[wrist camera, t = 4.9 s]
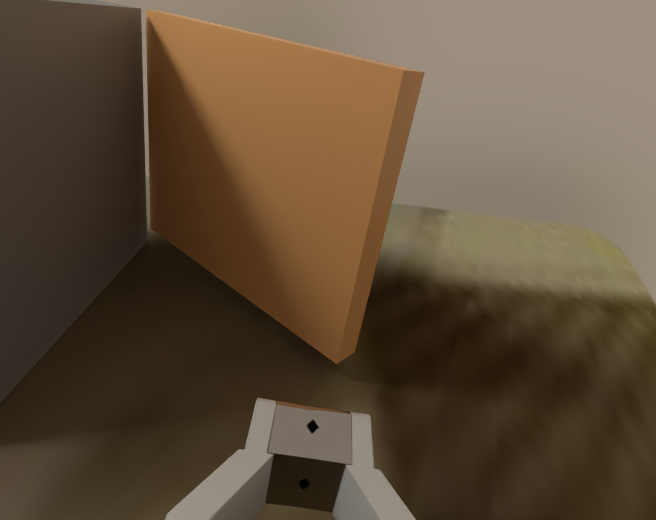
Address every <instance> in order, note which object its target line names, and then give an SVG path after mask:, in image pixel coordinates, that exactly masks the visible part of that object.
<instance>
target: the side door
mask: <svg viewBox="0 0 656 520" xmlns="http://www.w3.org/2000/svg"><path fill="white" fill-rule="evenodd" d="M146 34H147V35H146V37H147V83H148V126H149V127H148V128H149V172H150V218H151V229H152V230H154V231H155V232H156V233H158V234H159V235H160V236H162V237H163V238H165V239H166V240H167V241H169V242H170V243H171V244H173V245H174V246H175V247H177V248H178V249H180V250H181V251H182V252H184V253H185V254H186V255H188V256H189V257H191V258H192V259H193V260H195V261H196V262H197V263H199V264H200V265H202V266H203V267H204V268H206V269H207V270H208V271H210V272H211V273H212V274H214V275H215V276H217V277H218V278H219V279H221V280H222V281H223V282H225V283H226V284H228V285H229V286H230V287H232V288H233V289H234V290H236V291H237V292H238V293H240V294H241V295H243V296H244V297H245V298H247V299H248V300H249V301H251V302H252V303H254V304H255V305H256V306H258V307H259V308H260V309H262V310H263V311H265V312H266V313H267V314H269V315H270V316H271V317H273V318H274V319H275V320H277V321H278V322H280V323H281V324H282V325H284V326H285V327H286V328H288V329H289V330H291V331H292V332H293V333H295V334H296V335H297V336H299V337H300V338H301V339H303V340H304V341H306V342H307V343H308V344H310V345H311V346H312V347H314V348H315V349H317V350H318V351H319V352H321V353H322V354H323V355H325V356H326V357H327V358H329V359H330V360H332V361H333V362H334V363H336V364H337V363H339V362H341V361H342V360H344V359H345V358H347V357H348V356H350V355H351V354H353V353H354V352H355V349H356V345H357V341H358V337H359V333H360V329H361V325H362V321H363V317H364V313H365V309H366V305H367V301H368V297H369V293H370V289H371V285H372V281H373V277H374V273H375V269H376V264H377V260H378V256H379V252H380V248H381V244H382V240H383V236H384V232H385V228H386V224H387V220H388V216H389V212H390V208H391V204H392V200H393V196H394V192H395V188H396V184H397V180H398V176H399V172H400V168H401V164H402V160H403V156H404V152H405V148H406V144H407V140H408V136H409V132H410V128H411V124H412V120H413V116H414V112H415V108H416V104H417V100H418V96H419V92H420V88H421V84H422V80H423V76H424V72H421V71H417V70H413V69H409V68H404V67H400V66H396V65H391V64H387V63H383V62H379V61H374V60H370V59H366V58H361V57H357V56H352V55H348V54H344V53H340V52H335V51H331V50H327V49H323V48H318V47H314V46H310V45H305V44H301V43H296V42H292V41H288V40H284V39H279V38H275V37H271V36H267V35H262V34H258V33H254V32H249V31H245V30H241V29H236V28H232V27H227V26H224V25H219V24H215V23H211V22H206V21H202V20H198V19H193V18H189V17H184V16H180V15H176V14H172V13H167V12H160V11H153V10H147V9H146Z"/></svg>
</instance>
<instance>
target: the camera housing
mask: <svg viewBox="0 0 656 520" xmlns="http://www.w3.org/2000/svg"><path fill="white" fill-rule="evenodd" d="M142 71H143V69H142V31H141V9H140V8H135V7H130V6H125V5H119V4H114V3H109V2H103V1H98V0H0V403H1V402H2V401H3V400H4V399H5V398H6V397H7V396H8V395H9V393H10V392H11V391H12V390H13V389H14V388H15V387H16V386H17V385H18V383H19V382H20V381H21V380H22V379H23V378H24V377H25V376H26V375H27V374H28V372H29V371H30V370H31V369H32V368H33V367H34V366H35V365H36V364H37V363H38V361H39V360H40V359H41V358H42V357H43V356H44V355H45V354H46V353H47V352H48V350H49V349H50V348H51V347H52V346H53V345H54V344H55V343H56V342H57V340H58V339H59V338H60V337H61V336H62V335H63V334H64V333H65V332H66V331H67V329H68V328H69V327H70V326H71V325H72V324H73V323H74V322H75V321H76V320H77V318H78V317H79V316H80V315H81V314H82V313H83V312H84V311H85V310H86V309H87V307H88V306H89V305H90V304H91V303H92V302H93V301H94V300H95V299H96V297H97V296H98V295H99V294H100V293H101V292H102V291H103V290H104V289H105V288H106V286H107V285H108V284H109V283H110V282H111V281H112V280H113V279H114V278H115V277H116V275H117V274H118V273H119V272H120V271H121V270H122V269H123V268H124V267H125V265H126V264H127V263H128V262H129V261H130V260H131V259H132V258H133V257H134V256H135V254H136V253H137V252H138V251H139V250H140V249H141V248H142V247H143V246H144V245H145V243H146V242H147V218H146V180H145V146H144V145H145V143H144V107H143V72H142Z"/></svg>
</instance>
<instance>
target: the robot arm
mask: <svg viewBox="0 0 656 520" xmlns="http://www.w3.org/2000/svg"><path fill="white" fill-rule="evenodd" d="M275 408H276V409H275ZM265 503H267V504H276V505H285V506H294V507H301V508H307V509H313V510H319V511H325V512H331V513H332V516H333V518H334V520H416V519H415V518H414V516H413V515H412V514H411V512H410V511H409V509H408V508H407V507H406V505H405V504H404V502H403V501H402V500H401V498H400V497H399V495H398V494H397V493H396V491H395V490H394V488H393V487H392V486H391V484H390V483H389V482H388V480H387V479H386V477H385V476H384V475H383V473H382V472H381V470H378V469H374V455H373V441H372V427H371V417H370V415H368V414H361V413H354V412H351V413H350V412H347V411H340V410H333V409H326V408H319V407H310V406H304V405H299V404H293V403H287V402H282V401H277V404H276V401H274V400H268V399H263V398H257V401H256V404H255V408H254V412H253V416H252V420H251V425H250V429H249V433H248V437H247V441H246V446H245V450H242V449H238V450H237V451H236V452H235V453H234V454H233V455H232V456H231V457H229V458H228V459H227V460H226V461H225V462H224V463H223V464H222V465H221V466H219V467H218V468H217V469H216V470H215V471H214V472H213V473H212V474H211V475H210V476H208V477H207V478H206V479H205V480H204V481H203V482H202V483H201V484H200V485H198V486H197V487H196V488H195V489H194V490H193V491H192V492H191V493H190V494H188V495H187V496H186V497H185V498H184V499H183V500H182V501H181V502H180V503H178V504H177V505H176V506H175V507H174V508H173V509H172V510H171V511H170V512H168V513H167V515H166V518H165V520H254V519H255V517H256V516H257V515H258V514H259V512H260V511H261V510H262V509H263V507H264V506H265Z"/></svg>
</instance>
